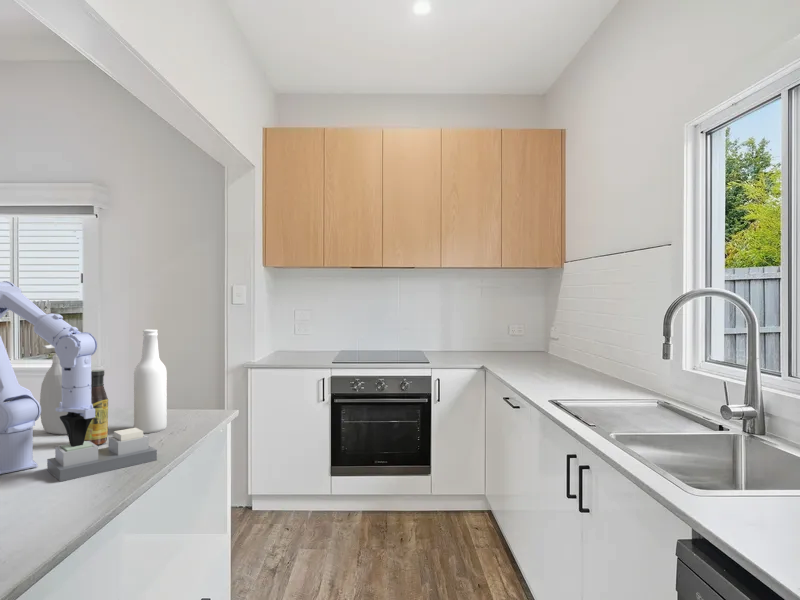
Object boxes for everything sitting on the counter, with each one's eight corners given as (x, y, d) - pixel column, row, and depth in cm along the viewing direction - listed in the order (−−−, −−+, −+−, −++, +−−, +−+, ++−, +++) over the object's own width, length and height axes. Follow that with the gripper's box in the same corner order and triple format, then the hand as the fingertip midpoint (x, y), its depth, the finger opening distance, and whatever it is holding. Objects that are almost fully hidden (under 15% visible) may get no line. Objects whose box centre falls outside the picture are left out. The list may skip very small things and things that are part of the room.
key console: (47, 469, 116) (47, 445, 116) (139, 450, 131) (139, 429, 131) (60, 481, 109) (60, 456, 109) (156, 460, 123) (156, 437, 123)
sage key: (61, 452, 116) (61, 445, 116) (85, 447, 119) (85, 440, 119) (67, 457, 112) (67, 449, 112) (92, 452, 116) (92, 445, 116)
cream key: (113, 437, 124) (113, 431, 124) (135, 433, 127) (135, 427, 127) (121, 441, 120) (121, 435, 120) (143, 437, 124) (143, 431, 124)
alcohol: (171, 429, 152) (171, 329, 151) (140, 435, 145) (140, 331, 145) (159, 424, 158) (159, 328, 157) (129, 430, 151) (129, 329, 151)
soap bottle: (26, 434, 146) (25, 341, 146) (53, 427, 154) (53, 339, 154) (62, 439, 141) (61, 342, 141) (88, 432, 149) (88, 340, 149)
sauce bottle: (95, 448, 133) (94, 372, 133) (74, 446, 134) (74, 371, 134) (113, 441, 140) (113, 369, 139) (94, 439, 141) (94, 368, 141)
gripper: (44, 385, 117) (44, 444, 117) (69, 392, 108) (70, 455, 108) (78, 381, 122) (78, 437, 122) (105, 387, 114) (105, 448, 114)
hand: (76, 445), depth 116 cm, fingers closed, pressing on sage key
